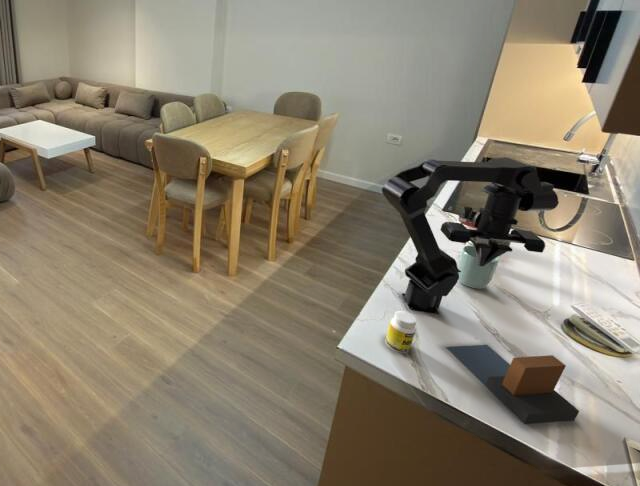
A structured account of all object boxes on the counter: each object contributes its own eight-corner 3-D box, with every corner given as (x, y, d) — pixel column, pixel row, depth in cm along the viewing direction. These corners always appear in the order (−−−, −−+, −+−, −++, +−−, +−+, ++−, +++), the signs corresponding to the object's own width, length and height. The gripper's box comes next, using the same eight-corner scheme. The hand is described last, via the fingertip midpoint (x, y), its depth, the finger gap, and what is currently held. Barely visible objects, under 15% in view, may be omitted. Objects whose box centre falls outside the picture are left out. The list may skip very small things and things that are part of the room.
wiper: (484, 385, 80) (499, 350, 77) (531, 382, 81) (547, 347, 77) (524, 423, 73) (542, 386, 69) (574, 420, 73) (595, 383, 70)
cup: (489, 296, 106) (501, 265, 102) (452, 285, 110) (463, 255, 107) (487, 281, 112) (498, 251, 108) (452, 271, 116) (462, 242, 112)
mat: (444, 348, 90) (445, 346, 89) (486, 346, 90) (486, 344, 90) (523, 425, 73) (524, 423, 73) (573, 422, 73) (574, 420, 73)
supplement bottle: (401, 357, 87) (410, 327, 85) (380, 342, 91) (388, 313, 88) (413, 349, 90) (423, 320, 87) (392, 335, 93) (400, 306, 91)
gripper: (527, 200, 98) (506, 253, 104) (439, 192, 103) (424, 243, 109) (557, 221, 88) (533, 279, 94) (459, 211, 93) (441, 266, 99)
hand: (480, 265), depth 99 cm, fingers closed
